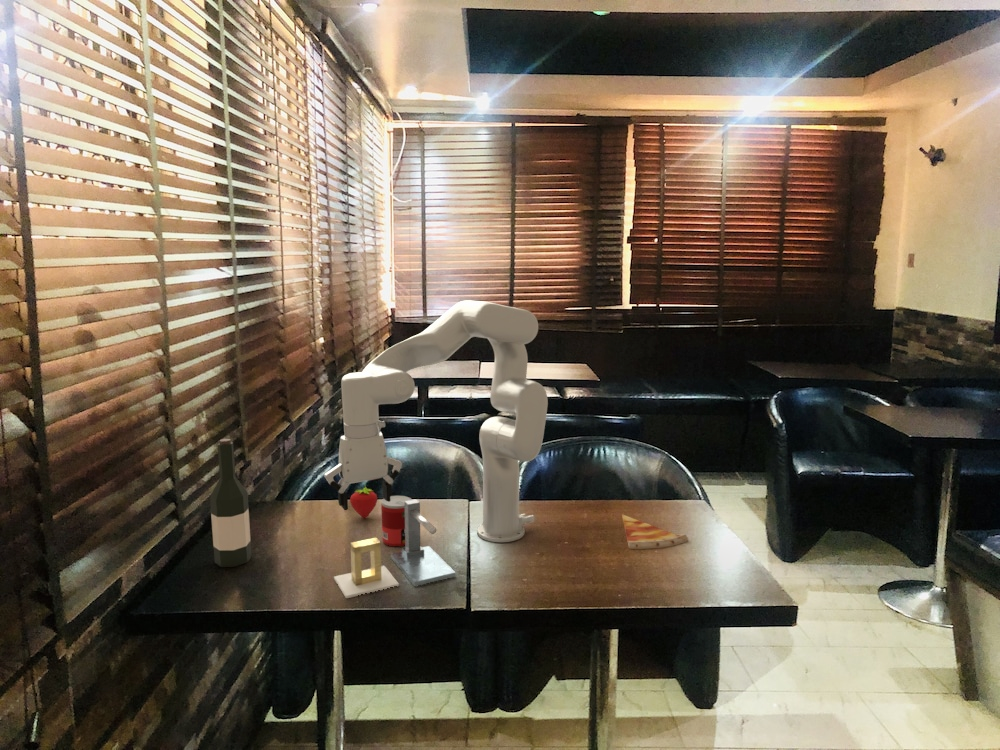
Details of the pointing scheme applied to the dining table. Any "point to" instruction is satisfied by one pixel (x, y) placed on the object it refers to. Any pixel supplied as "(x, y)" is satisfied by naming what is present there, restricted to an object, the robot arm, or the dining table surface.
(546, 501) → the dining table surface
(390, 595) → the dining table surface
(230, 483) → the wine bottle
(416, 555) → the stand
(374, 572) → the rectangular frame block
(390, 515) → the canned food
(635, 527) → the pizza slice
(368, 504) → the strawberry
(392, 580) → the pad
